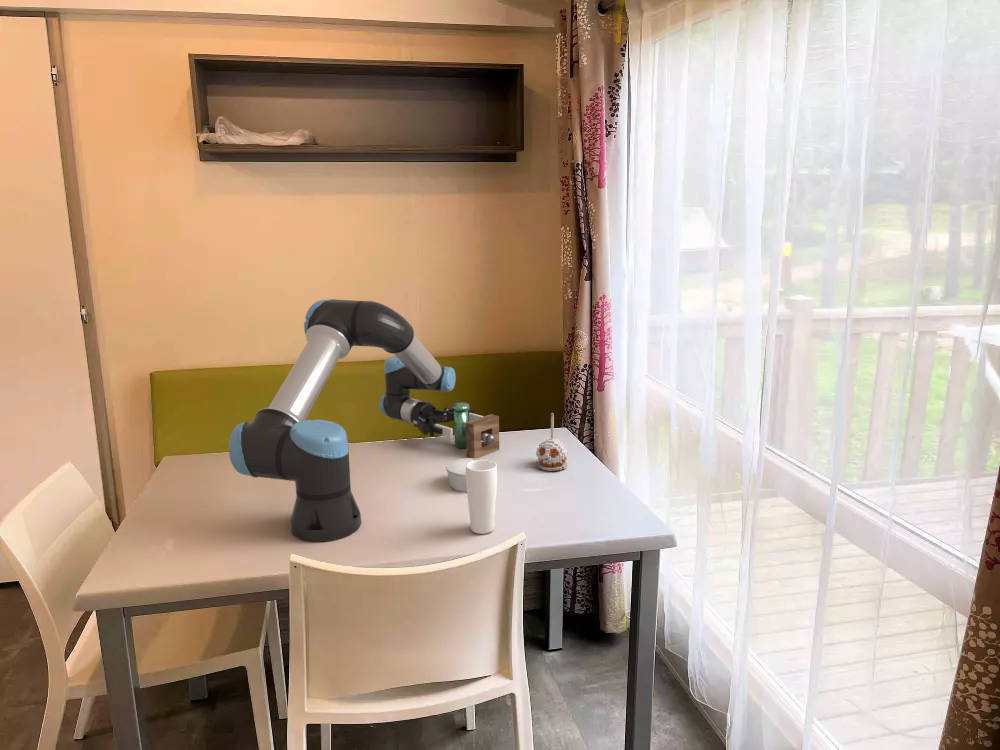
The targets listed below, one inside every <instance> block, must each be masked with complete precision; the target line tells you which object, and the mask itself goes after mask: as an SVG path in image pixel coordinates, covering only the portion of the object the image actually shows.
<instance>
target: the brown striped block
mask: <svg viewBox="0 0 1000 750" xmlns="http://www.w3.org/2000/svg"><path fill="white" fill-rule="evenodd" d="M483 416H484V415H483ZM481 432H485V433H488V434H493V435H494V437H495V440H494V442H493V443H488V442H485V441H481ZM466 440H467V447H466V458H475V459H480V458H482V457H484V456H487V455H490V454H492V453H495V452H497V451H500V416H499V415H495V414H492V413H490V414H487V415H485V416H484V417H481V418H478V419H475V420H472V421H468V422H466Z"/></svg>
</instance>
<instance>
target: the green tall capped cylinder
mask: <svg viewBox="0 0 1000 750" xmlns="http://www.w3.org/2000/svg"><path fill="white" fill-rule="evenodd" d="M451 409H452V410H454V421H453V422H454V424H453V425H454V429H453V430H454V431H453V432H454V447H455V448H458V449H464V448H465V449H467V440H466V422H469V421H468V410H470V404H469V403H467V402H455V403H453V404H452V408H451ZM494 440H495V437H494V435H493V434H488V433H485V431H482V432H481V442H484V441H485V442H488V443H493V442H494Z"/></svg>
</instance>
